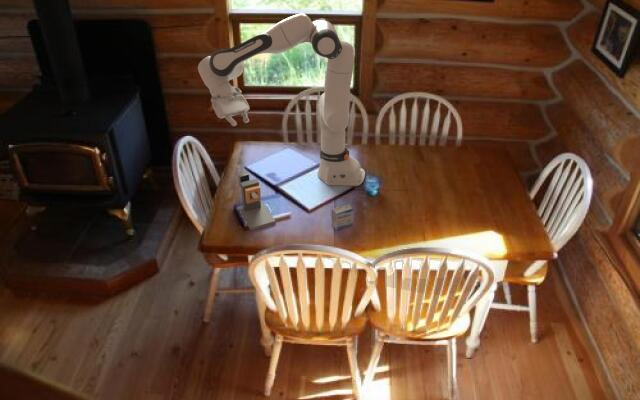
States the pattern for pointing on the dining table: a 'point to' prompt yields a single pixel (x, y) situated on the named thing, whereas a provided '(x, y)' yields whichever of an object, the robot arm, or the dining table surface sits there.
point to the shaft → (243, 178)
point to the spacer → (250, 190)
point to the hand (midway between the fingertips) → (241, 123)
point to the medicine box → (341, 216)
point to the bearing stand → (255, 209)
